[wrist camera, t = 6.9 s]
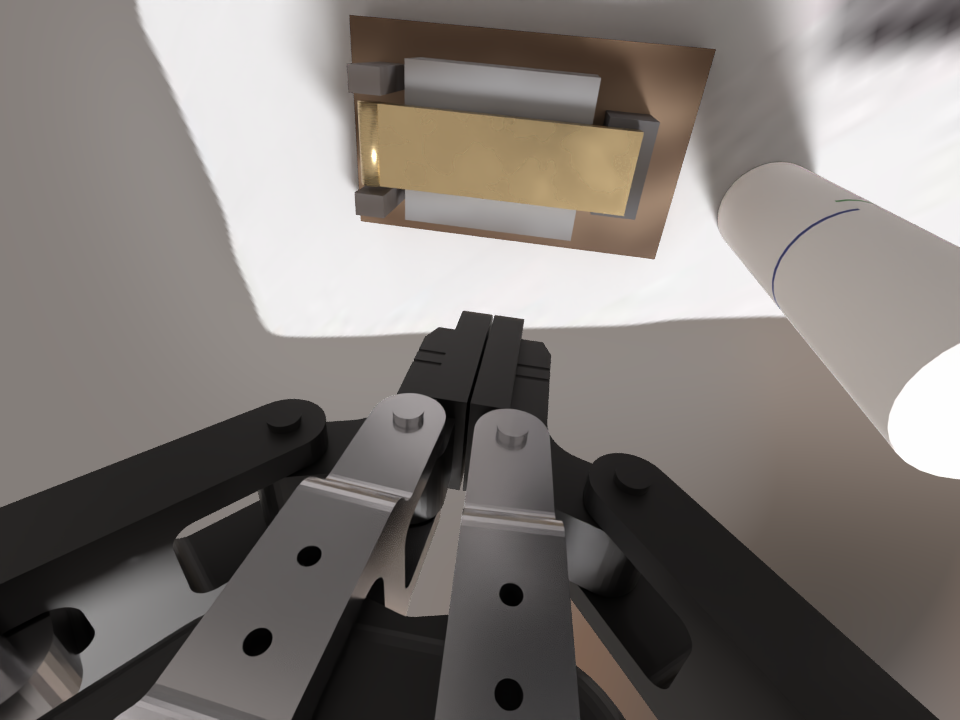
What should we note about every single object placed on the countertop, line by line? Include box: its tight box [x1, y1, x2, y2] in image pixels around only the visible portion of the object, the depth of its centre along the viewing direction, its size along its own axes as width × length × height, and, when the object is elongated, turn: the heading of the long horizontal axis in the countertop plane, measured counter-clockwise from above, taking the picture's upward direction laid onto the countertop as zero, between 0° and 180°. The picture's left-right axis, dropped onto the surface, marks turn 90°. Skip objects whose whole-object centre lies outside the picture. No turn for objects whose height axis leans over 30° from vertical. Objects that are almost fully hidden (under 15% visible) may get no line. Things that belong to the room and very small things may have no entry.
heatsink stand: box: [347, 15, 716, 259], centre depth 34 cm, size 14×24×9 cm, turn 85°
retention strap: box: [357, 100, 644, 216], centre depth 31 cm, size 5×18×2 cm, turn 85°
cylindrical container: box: [717, 162, 960, 479], centre depth 28 cm, size 7×7×25 cm
